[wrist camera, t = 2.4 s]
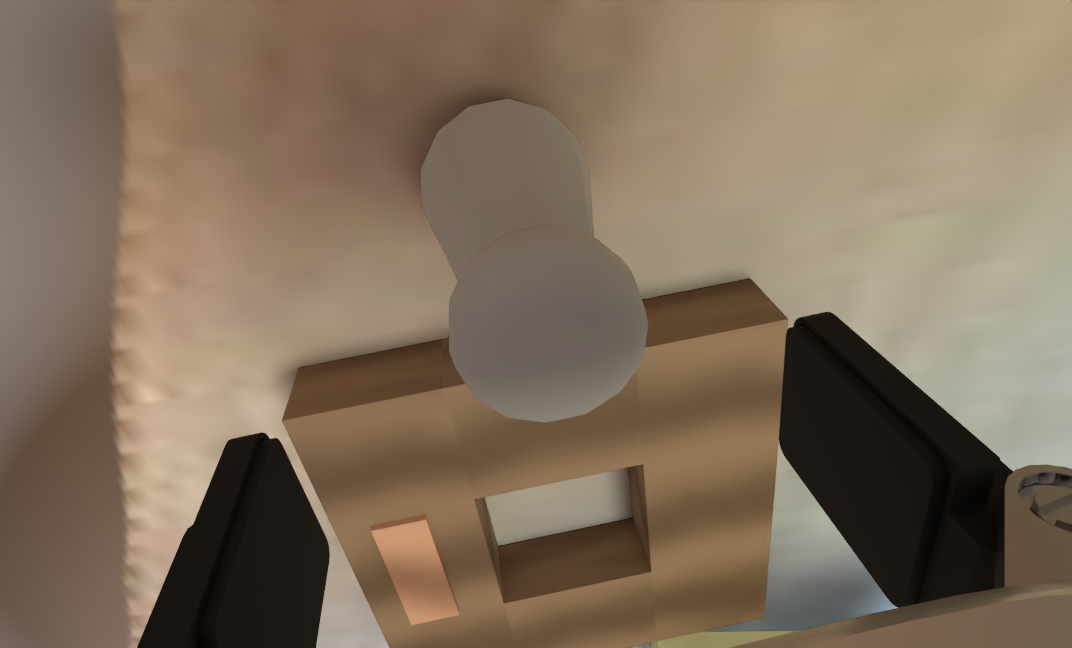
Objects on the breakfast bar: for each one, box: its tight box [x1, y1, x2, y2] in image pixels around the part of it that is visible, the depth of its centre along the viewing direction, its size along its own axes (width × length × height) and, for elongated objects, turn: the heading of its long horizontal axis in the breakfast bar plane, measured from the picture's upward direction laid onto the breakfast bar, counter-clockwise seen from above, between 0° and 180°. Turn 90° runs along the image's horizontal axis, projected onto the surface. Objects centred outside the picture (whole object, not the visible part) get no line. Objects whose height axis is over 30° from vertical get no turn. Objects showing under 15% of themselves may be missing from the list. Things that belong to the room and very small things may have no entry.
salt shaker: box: [421, 99, 648, 423], centre depth 18 cm, size 6×6×13 cm
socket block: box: [282, 279, 788, 648], centre depth 31 cm, size 20×20×4 cm
